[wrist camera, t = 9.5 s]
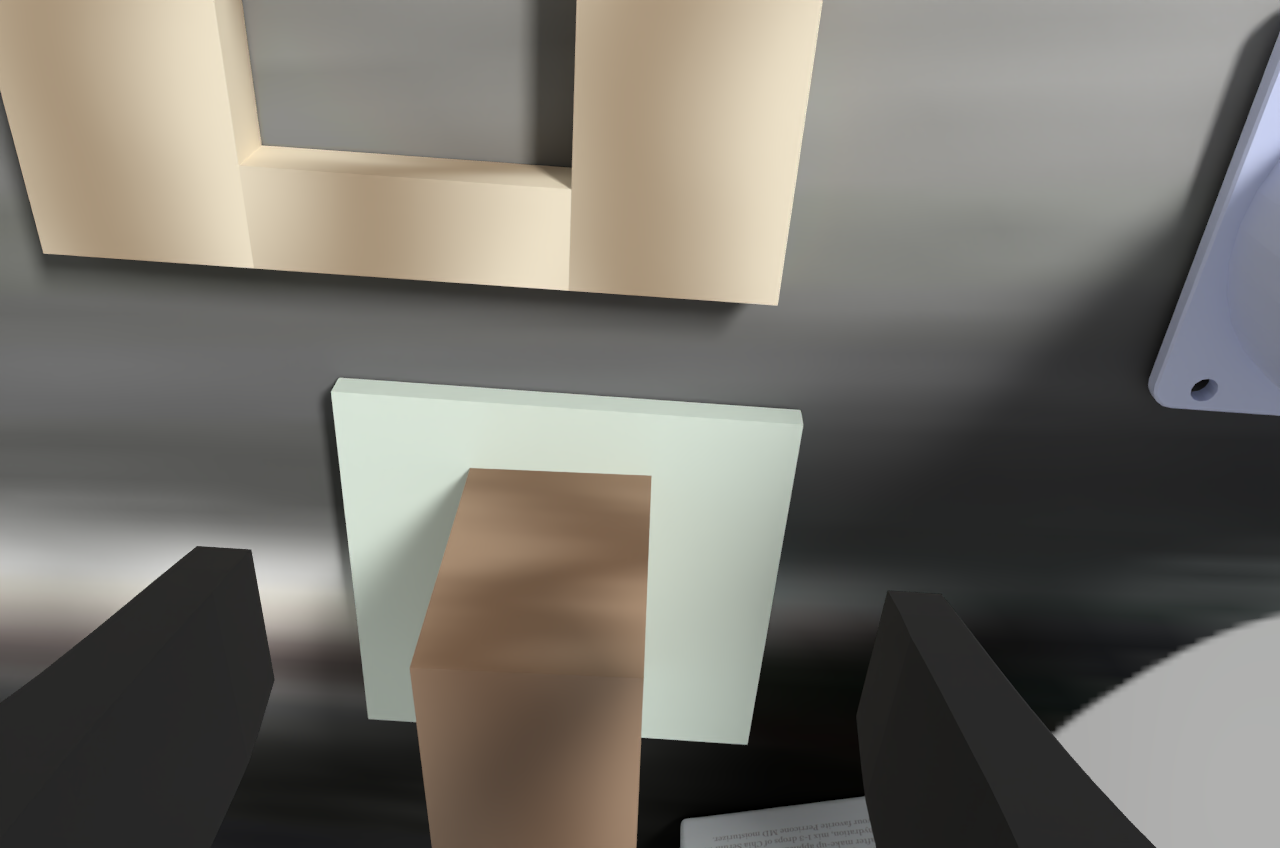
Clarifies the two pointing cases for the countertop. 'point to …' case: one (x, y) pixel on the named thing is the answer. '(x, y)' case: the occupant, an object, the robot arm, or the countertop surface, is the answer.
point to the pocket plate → (421, 186)
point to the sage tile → (584, 443)
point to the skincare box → (784, 827)
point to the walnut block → (536, 663)
